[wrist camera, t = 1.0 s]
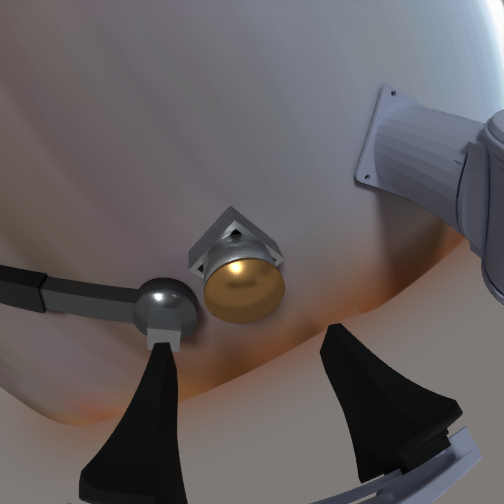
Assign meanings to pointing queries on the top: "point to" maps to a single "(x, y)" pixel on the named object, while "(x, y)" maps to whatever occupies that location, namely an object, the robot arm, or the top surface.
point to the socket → (238, 269)
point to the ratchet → (108, 302)
